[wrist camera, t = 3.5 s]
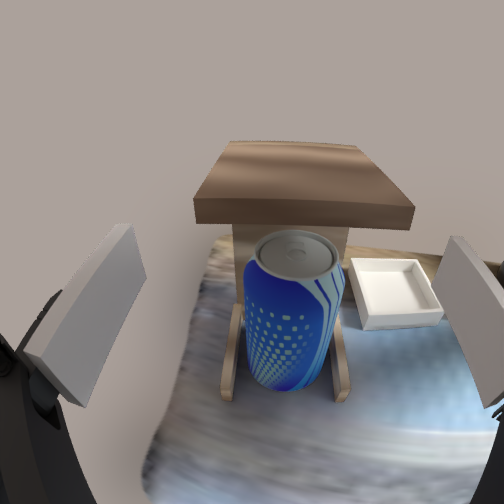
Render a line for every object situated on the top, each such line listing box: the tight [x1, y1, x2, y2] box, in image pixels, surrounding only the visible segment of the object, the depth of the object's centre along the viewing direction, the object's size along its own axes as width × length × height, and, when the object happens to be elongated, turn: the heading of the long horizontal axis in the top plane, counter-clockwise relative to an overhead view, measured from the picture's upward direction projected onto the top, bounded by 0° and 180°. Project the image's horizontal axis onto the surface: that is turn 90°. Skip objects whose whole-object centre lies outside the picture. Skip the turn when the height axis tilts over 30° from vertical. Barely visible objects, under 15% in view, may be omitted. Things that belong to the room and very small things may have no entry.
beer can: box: [243, 230, 345, 392], centre depth 26 cm, size 8×8×16 cm
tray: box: [348, 258, 445, 331], centre depth 38 cm, size 12×12×3 cm
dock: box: [193, 141, 415, 402], centre depth 26 cm, size 14×13×22 cm
